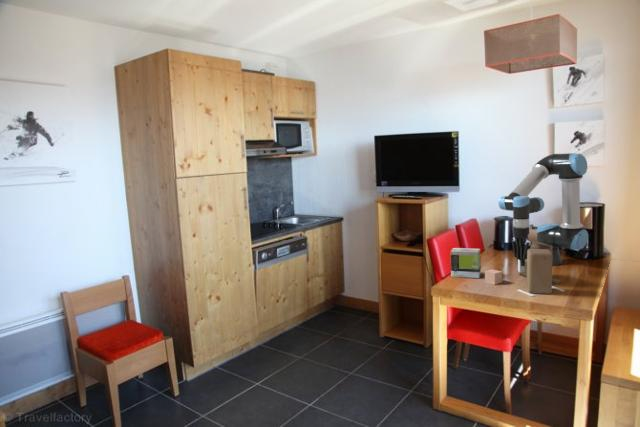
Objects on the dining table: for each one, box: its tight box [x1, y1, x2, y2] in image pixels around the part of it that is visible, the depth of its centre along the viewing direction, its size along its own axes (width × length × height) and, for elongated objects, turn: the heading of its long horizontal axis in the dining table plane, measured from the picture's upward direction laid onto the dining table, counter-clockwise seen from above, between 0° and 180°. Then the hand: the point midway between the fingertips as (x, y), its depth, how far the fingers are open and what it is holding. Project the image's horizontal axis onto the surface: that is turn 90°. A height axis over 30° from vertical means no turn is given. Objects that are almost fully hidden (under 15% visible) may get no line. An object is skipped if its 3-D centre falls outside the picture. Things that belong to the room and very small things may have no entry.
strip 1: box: [516, 288, 535, 297], centre depth 216 cm, size 2×10×1 cm, turn 17°
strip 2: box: [552, 285, 565, 292], centre depth 221 cm, size 2×10×1 cm, turn 17°
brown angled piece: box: [518, 239, 561, 285], centre depth 236 cm, size 8×20×20 cm, turn 17°
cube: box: [484, 269, 503, 285], centre depth 235 cm, size 6×6×6 cm
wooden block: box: [526, 249, 553, 295], centre depth 217 cm, size 10×10×20 cm
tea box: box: [450, 247, 482, 279], centre depth 249 cm, size 15×10×15 cm
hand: (521, 271), depth 231 cm, fingers closed
